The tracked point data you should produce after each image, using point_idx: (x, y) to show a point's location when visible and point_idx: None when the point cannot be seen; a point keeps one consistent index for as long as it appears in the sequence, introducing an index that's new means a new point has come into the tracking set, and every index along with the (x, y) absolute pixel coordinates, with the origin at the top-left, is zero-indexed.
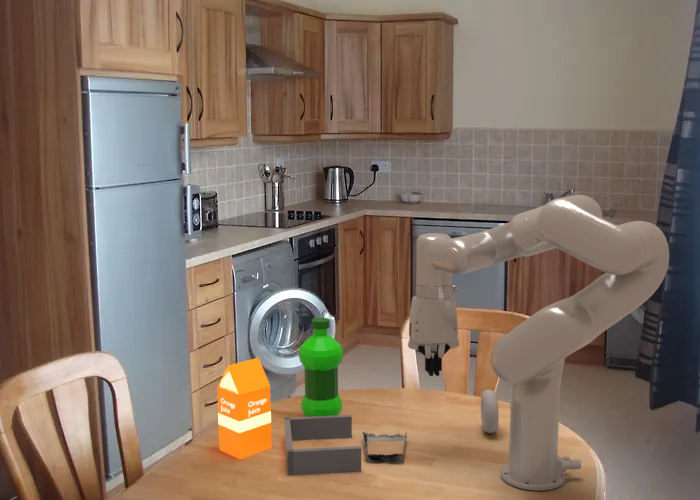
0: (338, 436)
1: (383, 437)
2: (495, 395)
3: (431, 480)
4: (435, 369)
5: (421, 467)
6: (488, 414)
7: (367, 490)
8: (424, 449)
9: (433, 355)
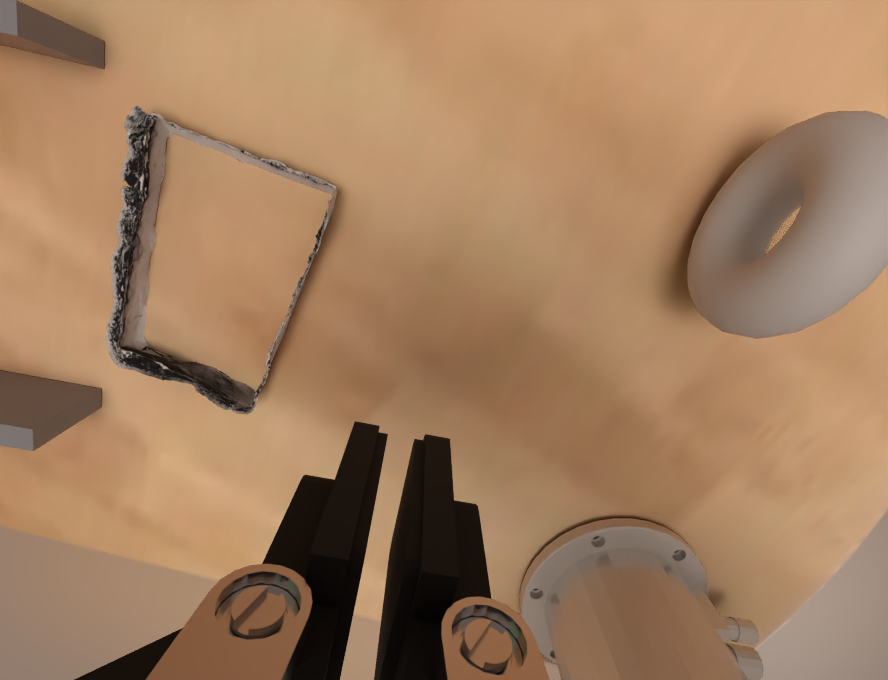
0: (30, 51)
1: (240, 154)
2: (870, 284)
3: None
4: (389, 571)
5: (317, 439)
6: (725, 323)
7: (103, 529)
8: (383, 303)
9: (403, 577)
